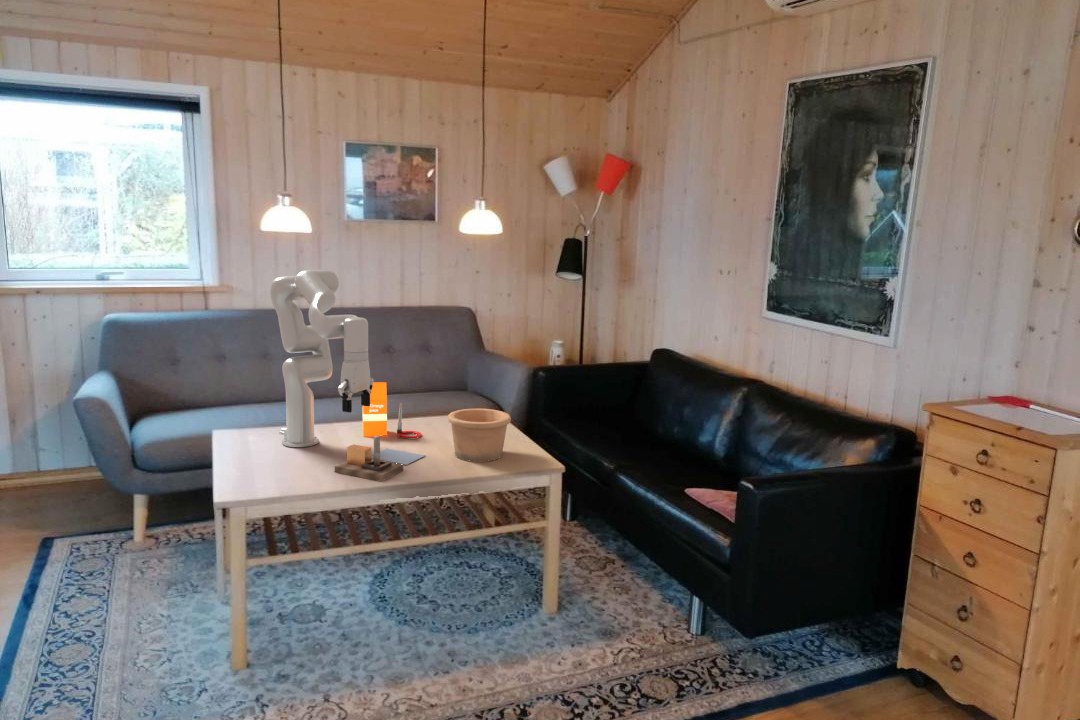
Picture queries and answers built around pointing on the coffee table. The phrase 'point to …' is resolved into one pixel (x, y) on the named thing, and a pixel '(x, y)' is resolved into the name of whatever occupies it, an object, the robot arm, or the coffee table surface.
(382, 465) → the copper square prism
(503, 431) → the pottery
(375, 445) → the post stand
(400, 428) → the tow hook
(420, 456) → the mat
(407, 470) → the coffee table surface
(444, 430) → the coffee table surface
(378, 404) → the orange juice
